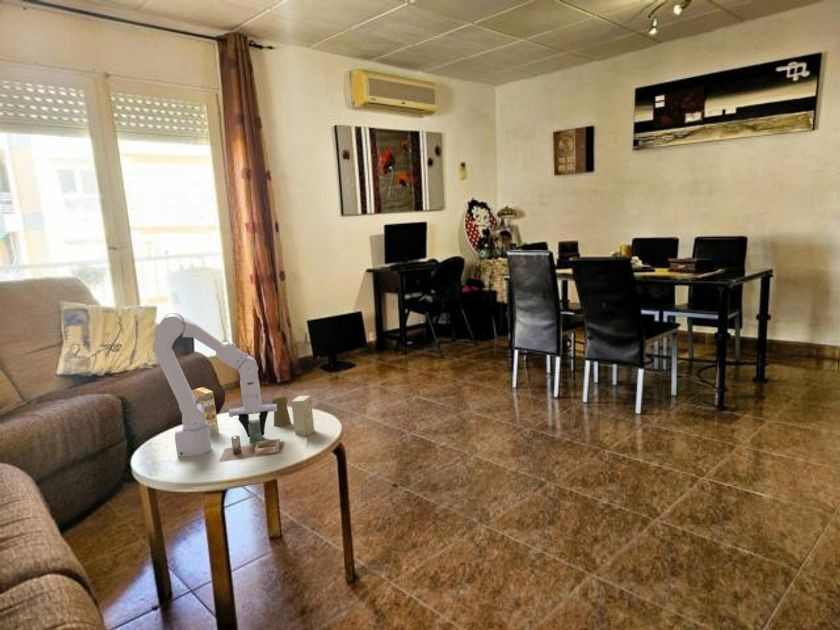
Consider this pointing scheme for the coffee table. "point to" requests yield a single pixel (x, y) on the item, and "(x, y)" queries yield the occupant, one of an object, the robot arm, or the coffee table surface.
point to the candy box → (208, 408)
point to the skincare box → (302, 415)
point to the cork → (281, 411)
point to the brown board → (254, 450)
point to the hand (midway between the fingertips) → (256, 435)
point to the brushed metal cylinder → (236, 445)
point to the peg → (255, 430)
